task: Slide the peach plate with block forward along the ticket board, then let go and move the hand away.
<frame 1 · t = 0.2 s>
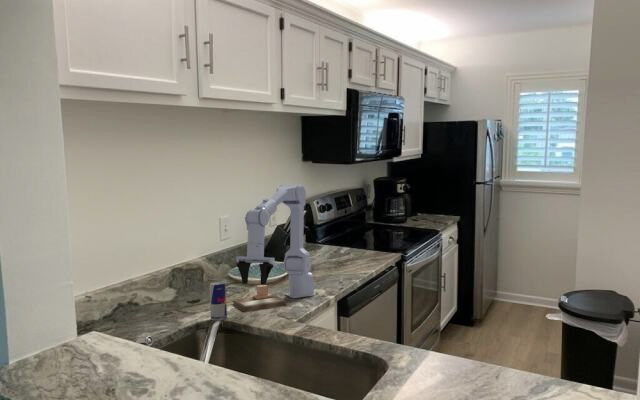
hand: (254, 284, 167), 11 cm above the worktop, tool pointing down, fingers open, 7 cm apart
ticket board: (259, 304, 182), on the worktop
energy drink: (218, 319, 164), on the worktop
peach plate with block: (262, 291, 186), point 4 cm above the worktop, slide at 0.0 cm
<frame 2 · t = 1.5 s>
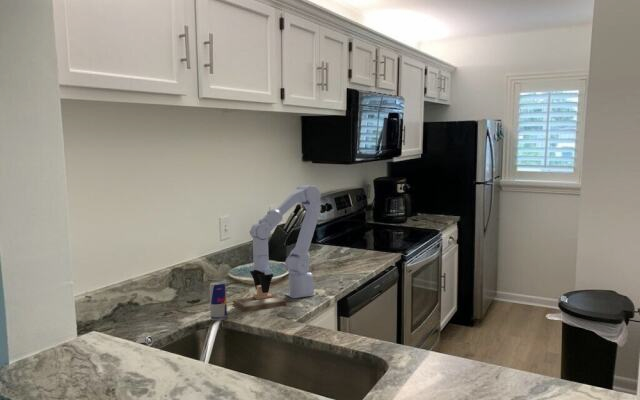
hand: (262, 290, 186), 4 cm above the worktop, tool pointing down, fingers open, 7 cm apart
nothing on the worktop moved.
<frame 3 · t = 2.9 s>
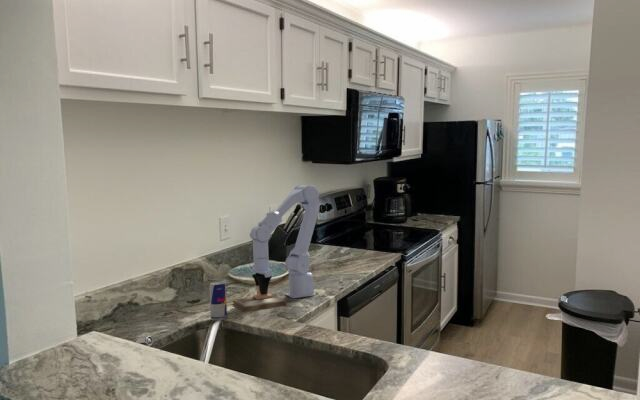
hand: (262, 293, 186), 3 cm above the worktop, tool pointing down, fingers closed on peach plate with block, 3 cm apart
peach plate with block: (262, 291, 186), point 4 cm above the worktop, slide at 0.0 cm, touching gripper
everything else where it was.
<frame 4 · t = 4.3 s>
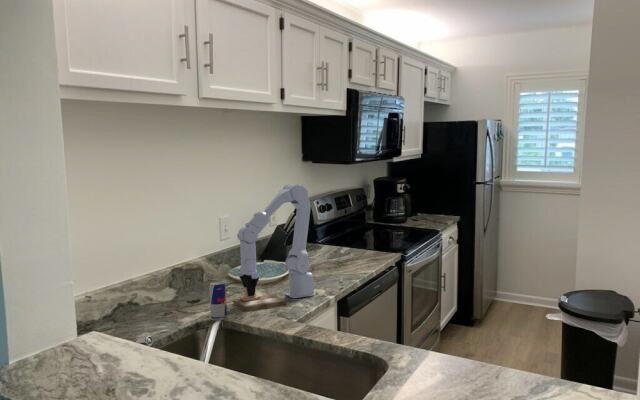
hand: (249, 295, 184), 3 cm above the worktop, tool pointing down, fingers closed on peach plate with block, 3 cm apart
peach plate with block: (249, 293, 184), point 4 cm above the worktop, slide at 4.9 cm, touching gripper
everything else where it was.
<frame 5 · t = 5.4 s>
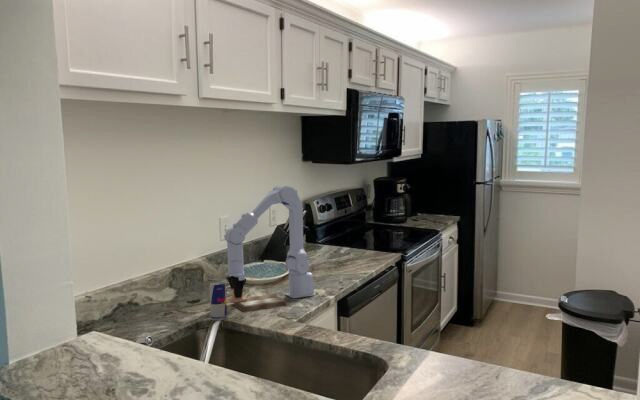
hand: (237, 296, 182), 3 cm above the worktop, tool pointing down, fingers closed on peach plate with block, 3 cm apart
peach plate with block: (237, 294, 182), point 4 cm above the worktop, slide at 9.8 cm, touching gripper
everything else where it was.
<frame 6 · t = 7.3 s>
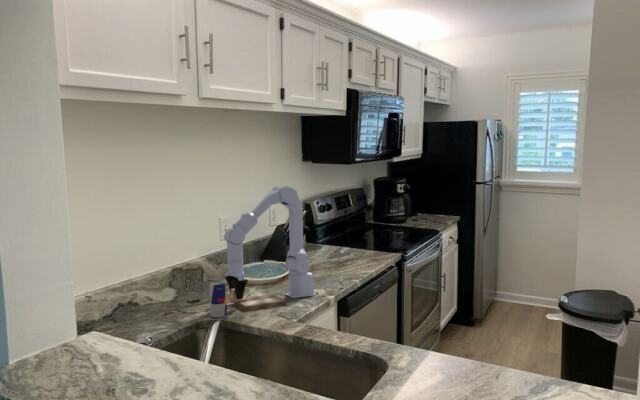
hand: (236, 296, 182), 3 cm above the worktop, tool pointing down, fingers open, 7 cm apart
peach plate with block: (236, 294, 182), point 4 cm above the worktop, slide at 10.0 cm
everything else where it was.
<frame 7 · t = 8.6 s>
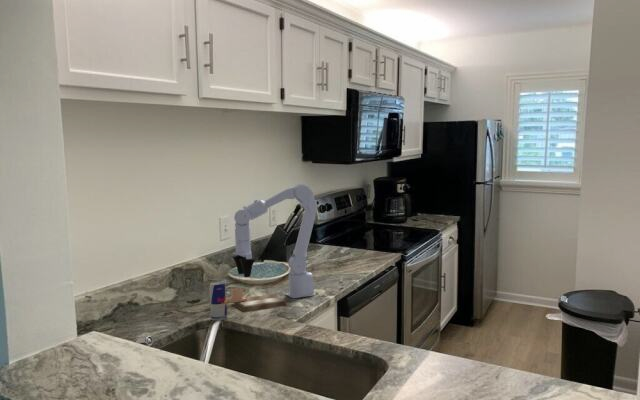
hand: (244, 275, 191), 9 cm above the worktop, tool pointing down, fingers open, 7 cm apart
nothing on the worktop moved.
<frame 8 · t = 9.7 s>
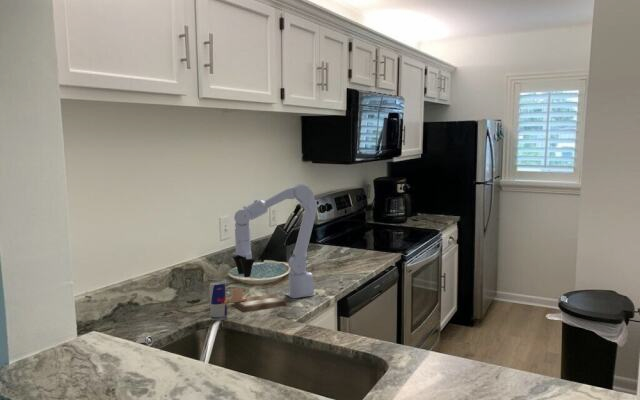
hand: (244, 275, 191), 9 cm above the worktop, tool pointing down, fingers open, 7 cm apart
nothing on the worktop moved.
at the end: peach plate with block slide at 10.0 cm; the gripper is holding nothing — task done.
